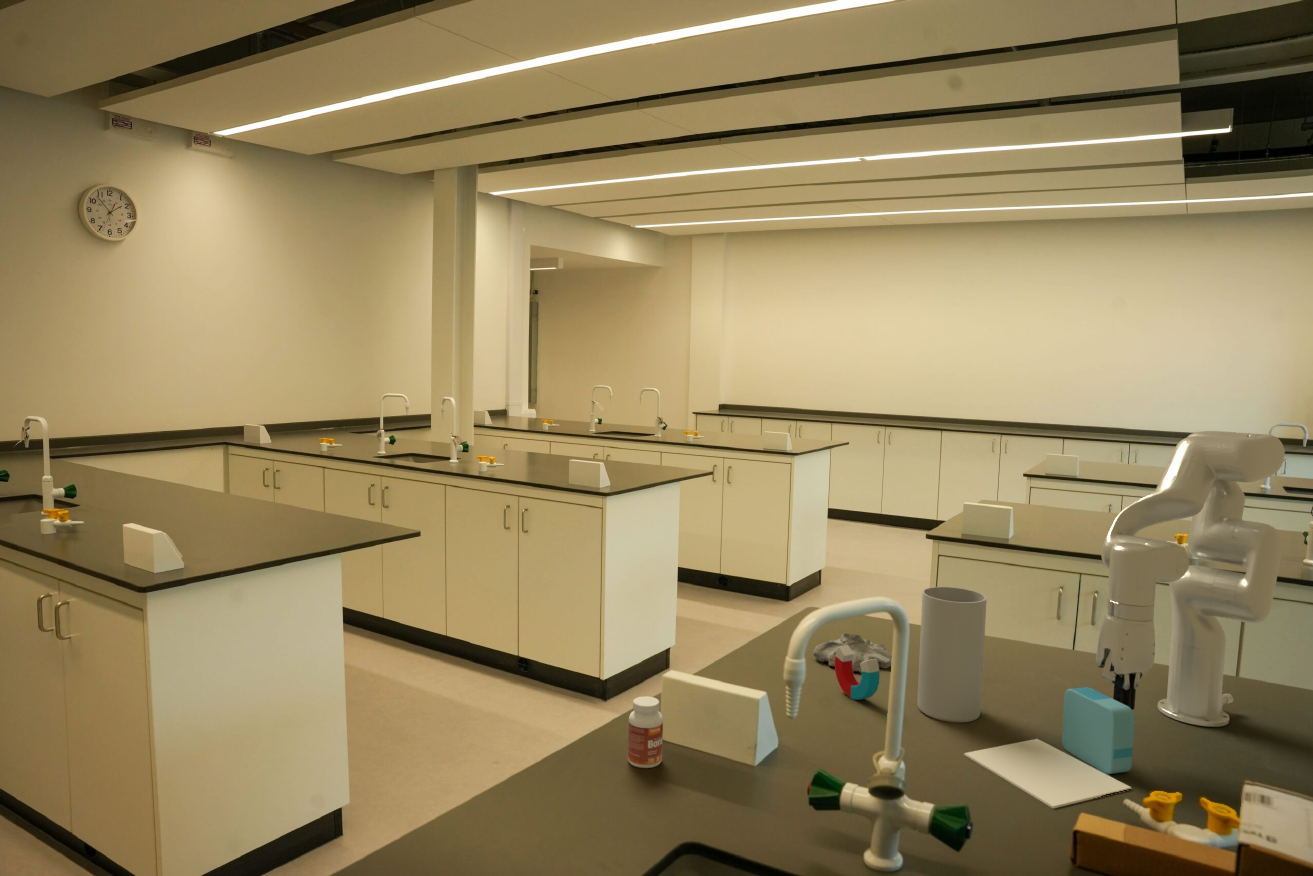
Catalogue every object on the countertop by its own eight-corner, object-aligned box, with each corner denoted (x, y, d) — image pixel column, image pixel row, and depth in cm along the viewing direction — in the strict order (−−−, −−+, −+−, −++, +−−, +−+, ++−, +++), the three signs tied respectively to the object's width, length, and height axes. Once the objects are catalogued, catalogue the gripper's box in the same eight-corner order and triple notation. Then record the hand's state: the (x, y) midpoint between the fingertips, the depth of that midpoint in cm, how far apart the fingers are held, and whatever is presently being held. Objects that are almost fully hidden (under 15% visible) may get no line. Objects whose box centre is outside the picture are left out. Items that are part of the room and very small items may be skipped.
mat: (1036, 740, 159) (1037, 738, 159) (1131, 789, 140) (1131, 787, 140) (964, 755, 152) (964, 753, 152) (1052, 808, 134) (1053, 806, 134)
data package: (1131, 775, 146) (1136, 709, 145) (1110, 777, 145) (1115, 711, 144) (1080, 745, 157) (1084, 684, 156) (1060, 747, 156) (1064, 686, 155)
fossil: (857, 631, 214) (887, 616, 201) (875, 673, 210) (907, 660, 197) (801, 651, 207) (828, 636, 194) (819, 694, 203) (848, 682, 190)
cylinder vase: (916, 718, 168) (922, 598, 166) (917, 696, 180) (922, 584, 178) (982, 728, 164) (988, 605, 162) (978, 704, 176) (984, 590, 174)
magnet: (878, 706, 174) (880, 660, 173) (868, 708, 173) (870, 662, 172) (843, 687, 185) (844, 643, 184) (833, 689, 183) (835, 645, 183)
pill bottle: (651, 772, 143) (652, 711, 142) (621, 764, 146) (622, 703, 145) (668, 758, 148) (669, 699, 148) (639, 750, 152) (640, 692, 151)
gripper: (1139, 602, 158) (1133, 695, 159) (1083, 608, 152) (1077, 705, 153) (1177, 612, 151) (1170, 710, 152) (1119, 620, 145) (1112, 721, 146)
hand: (1123, 707), depth 153 cm, fingers closed
